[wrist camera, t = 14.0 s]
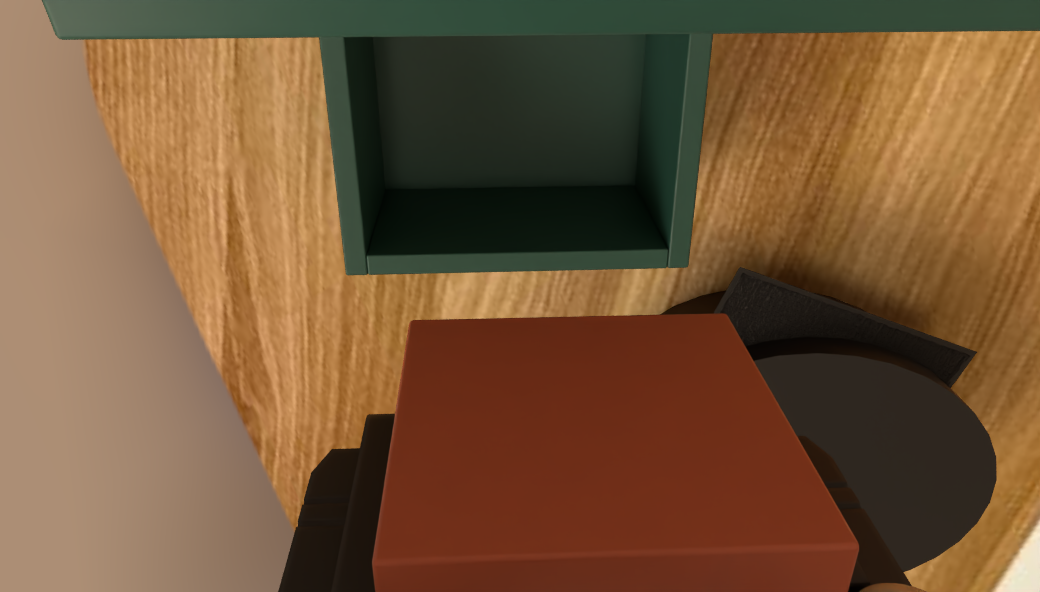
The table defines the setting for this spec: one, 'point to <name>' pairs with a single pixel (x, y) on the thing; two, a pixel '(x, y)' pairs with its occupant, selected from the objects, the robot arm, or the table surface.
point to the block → (599, 464)
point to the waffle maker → (869, 407)
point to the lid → (523, 17)
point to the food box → (515, 150)
